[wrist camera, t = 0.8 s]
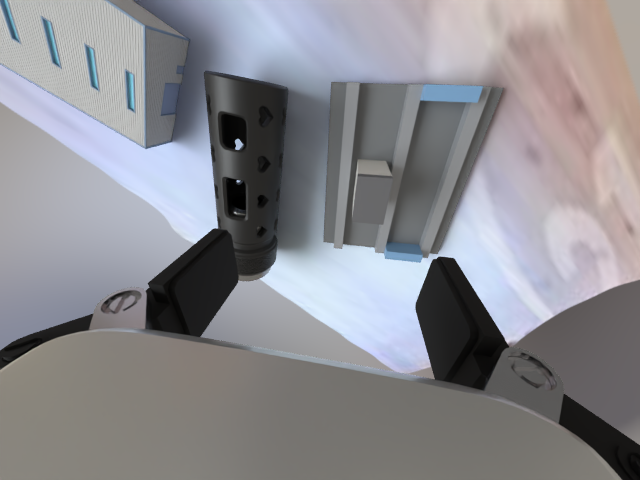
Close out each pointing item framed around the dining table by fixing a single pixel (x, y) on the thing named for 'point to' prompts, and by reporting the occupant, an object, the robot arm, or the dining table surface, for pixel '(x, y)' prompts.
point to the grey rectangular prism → (371, 191)
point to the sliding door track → (403, 160)
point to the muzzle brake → (247, 165)
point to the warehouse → (99, 61)
